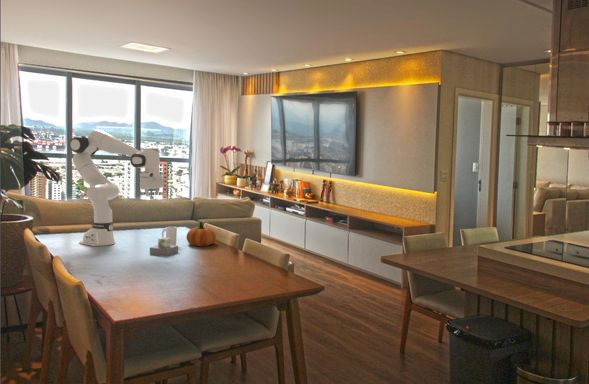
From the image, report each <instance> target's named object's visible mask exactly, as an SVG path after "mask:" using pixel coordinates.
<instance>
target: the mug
mask: <svg viewBox="0 0 589 384" xmlns="http://www.w3.org/2000/svg"><path fill="white" fill-rule="evenodd" d="M177 228H178V227H177V226H166V227H165V228H163V229H162V231H161V238H163V237H164V238H170V245H176V246H177V235H178V234H177V233H178V229H177ZM164 233H165V235H164Z"/></svg>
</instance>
